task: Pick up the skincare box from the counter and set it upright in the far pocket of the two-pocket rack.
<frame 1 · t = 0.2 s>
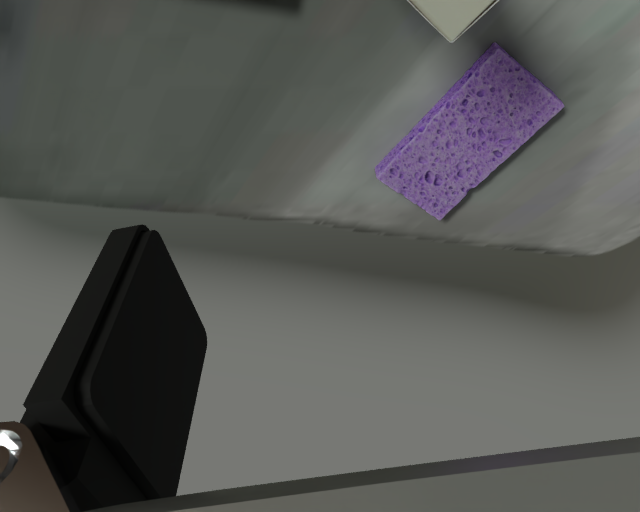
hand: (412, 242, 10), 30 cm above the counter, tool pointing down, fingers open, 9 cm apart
sponges: (461, 131, 42), on the counter
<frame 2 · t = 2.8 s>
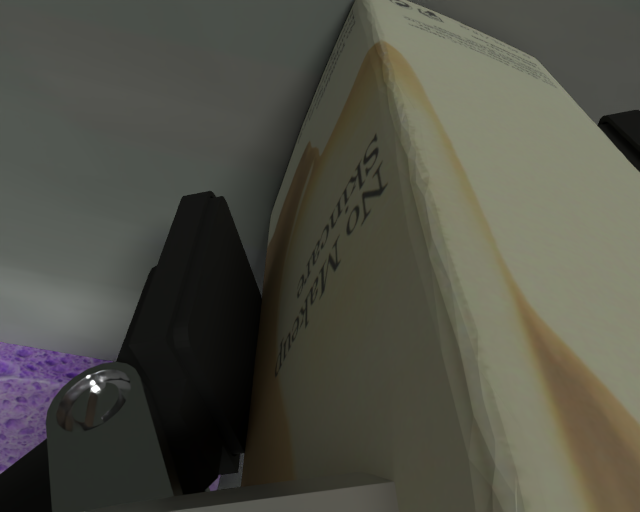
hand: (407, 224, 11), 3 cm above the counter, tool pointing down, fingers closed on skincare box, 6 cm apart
sponges: (63, 399, 20), on the counter
skincare box: (386, 145, 13), on the counter, touching gripper
when the fingers open (4 cm above the counter, at t = 9.2 s): skincare box drops 1 cm, resting in rack.
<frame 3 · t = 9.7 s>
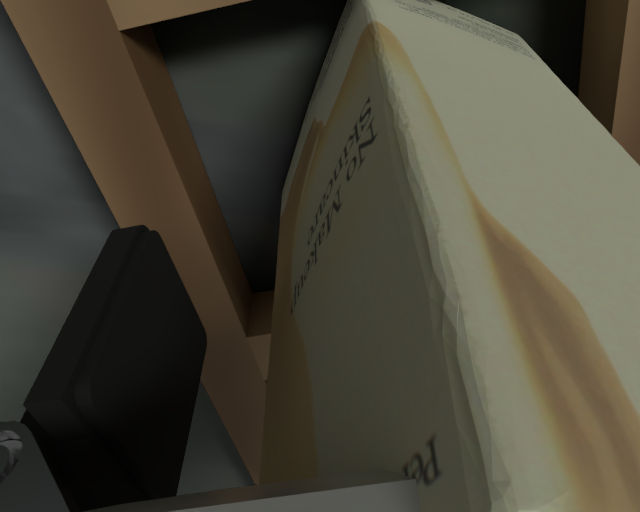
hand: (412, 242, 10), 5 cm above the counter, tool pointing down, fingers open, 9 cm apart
skincare box: (386, 122, 15), resting in rack
rack: (407, 291, 18), on the counter
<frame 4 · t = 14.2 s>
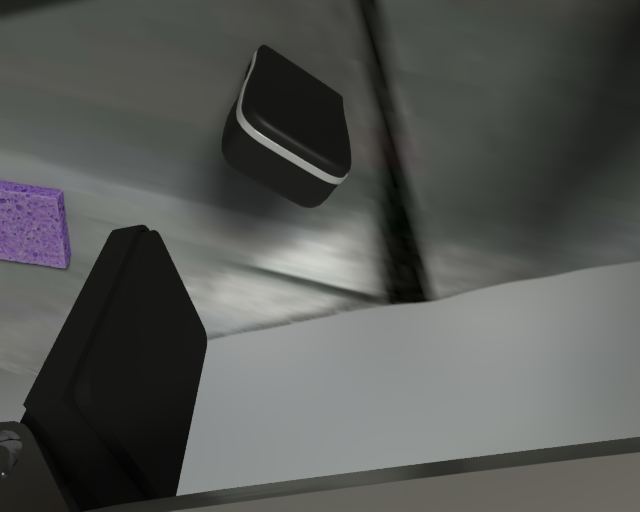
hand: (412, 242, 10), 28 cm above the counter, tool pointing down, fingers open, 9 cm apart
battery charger: (289, 90, 38), on the counter
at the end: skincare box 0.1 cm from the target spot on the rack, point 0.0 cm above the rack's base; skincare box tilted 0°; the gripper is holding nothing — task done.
